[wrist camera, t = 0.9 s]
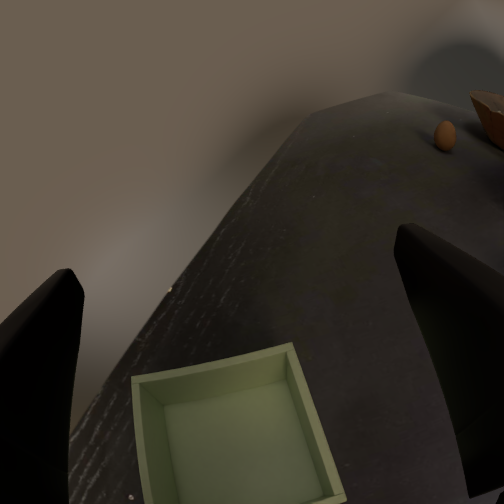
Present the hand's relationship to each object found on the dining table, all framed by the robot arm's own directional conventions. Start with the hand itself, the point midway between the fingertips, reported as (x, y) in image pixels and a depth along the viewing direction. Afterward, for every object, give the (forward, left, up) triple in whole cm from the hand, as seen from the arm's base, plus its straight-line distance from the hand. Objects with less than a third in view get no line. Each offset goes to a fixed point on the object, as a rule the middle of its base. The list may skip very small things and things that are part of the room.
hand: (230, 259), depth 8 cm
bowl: (+33, -67, -19) cm, 77 cm away
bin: (-1, +3, -18) cm, 19 cm away
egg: (+34, -43, -19) cm, 58 cm away
